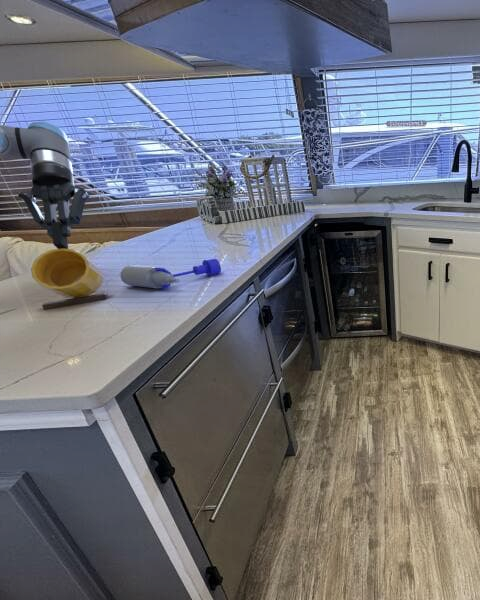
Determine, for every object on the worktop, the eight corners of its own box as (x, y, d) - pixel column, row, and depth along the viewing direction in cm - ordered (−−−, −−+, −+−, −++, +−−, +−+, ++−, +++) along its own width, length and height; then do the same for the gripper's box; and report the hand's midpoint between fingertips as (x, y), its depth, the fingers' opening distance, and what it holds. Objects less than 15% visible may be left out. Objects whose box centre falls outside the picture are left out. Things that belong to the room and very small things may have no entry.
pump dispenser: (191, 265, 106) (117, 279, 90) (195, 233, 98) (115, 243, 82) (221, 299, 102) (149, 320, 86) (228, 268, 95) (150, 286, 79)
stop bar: (43, 309, 77) (41, 305, 77) (46, 307, 78) (44, 302, 78) (107, 298, 82) (105, 294, 82) (108, 296, 84) (106, 292, 83)
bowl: (46, 296, 79) (24, 285, 72) (59, 258, 82) (40, 245, 75) (97, 301, 83) (81, 291, 76) (109, 264, 86) (94, 252, 79)
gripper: (92, 181, 90) (103, 250, 83) (29, 186, 84) (35, 261, 77) (76, 160, 83) (87, 233, 76) (7, 164, 78) (11, 243, 71)
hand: (61, 247), depth 77 cm, fingers closed
